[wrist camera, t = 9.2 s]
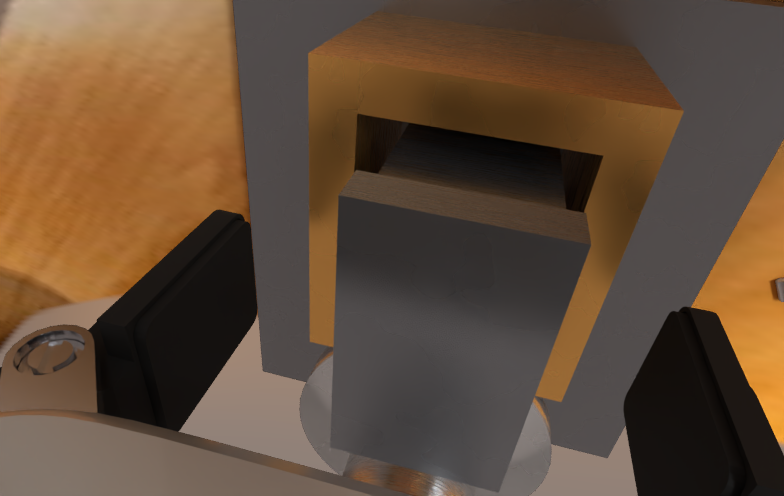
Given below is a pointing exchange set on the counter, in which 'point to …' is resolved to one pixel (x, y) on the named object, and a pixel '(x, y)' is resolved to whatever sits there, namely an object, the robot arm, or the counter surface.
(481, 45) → the post
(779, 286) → the caliper
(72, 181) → the counter surface
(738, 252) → the counter surface
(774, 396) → the counter surface
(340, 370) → the tall grey pillar block
